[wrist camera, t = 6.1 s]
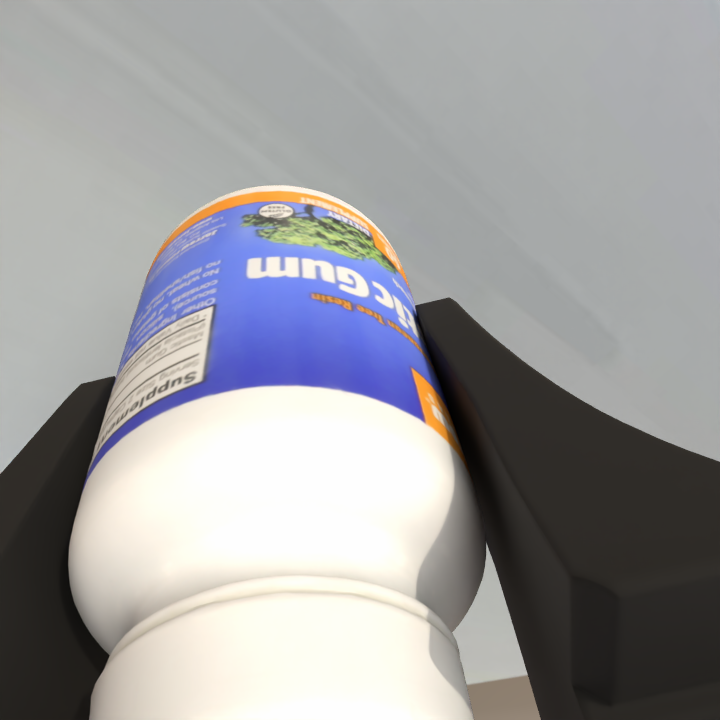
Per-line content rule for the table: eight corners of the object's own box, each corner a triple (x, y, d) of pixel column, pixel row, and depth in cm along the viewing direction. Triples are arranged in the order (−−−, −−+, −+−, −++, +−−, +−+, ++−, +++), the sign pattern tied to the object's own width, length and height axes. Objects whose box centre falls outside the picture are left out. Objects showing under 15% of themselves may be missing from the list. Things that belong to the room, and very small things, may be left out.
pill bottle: (454, 276, 14) (680, 755, 7) (301, 430, 17) (336, 929, 9) (245, 116, 12) (215, 582, 4) (96, 320, 14) (-108, 884, 6)
